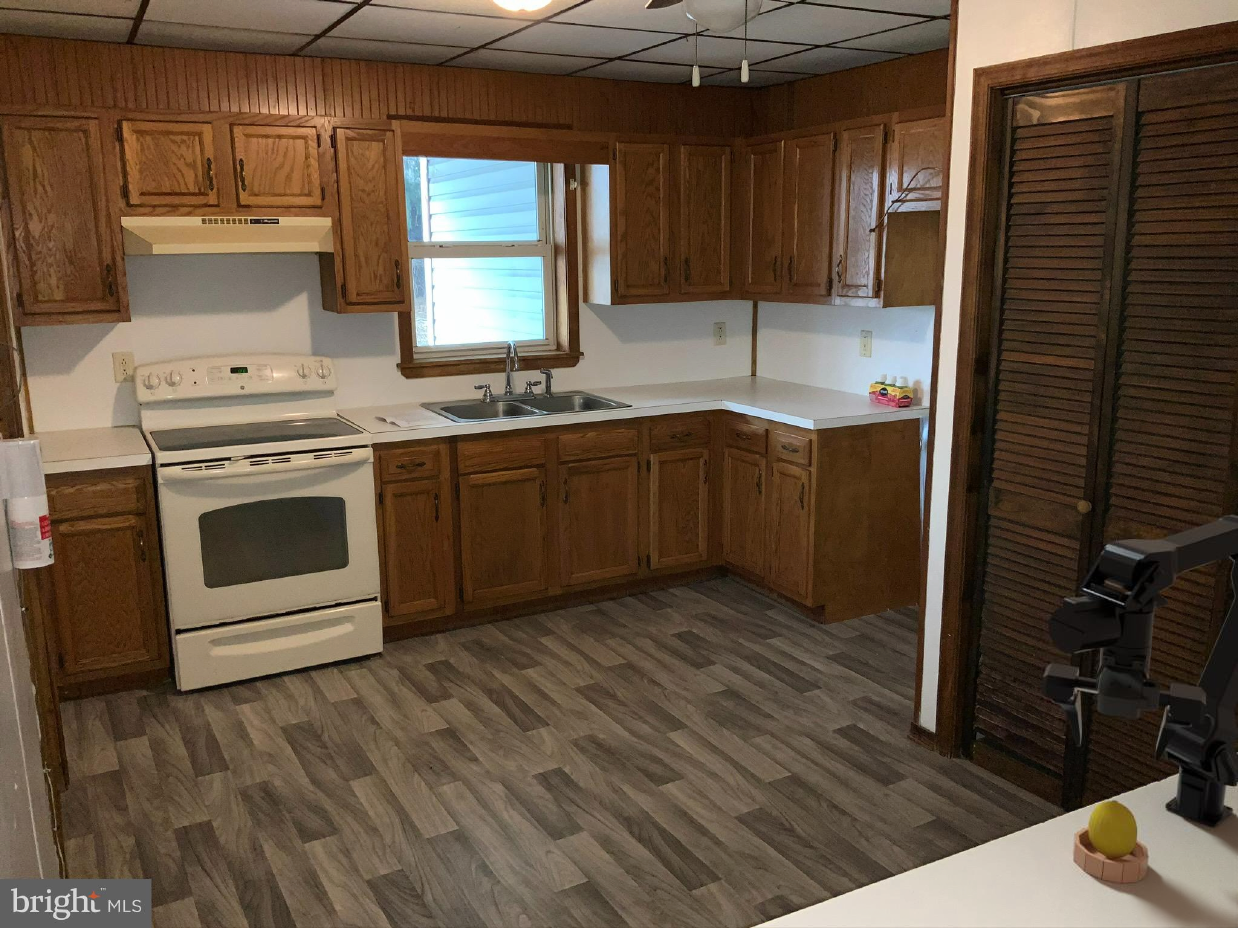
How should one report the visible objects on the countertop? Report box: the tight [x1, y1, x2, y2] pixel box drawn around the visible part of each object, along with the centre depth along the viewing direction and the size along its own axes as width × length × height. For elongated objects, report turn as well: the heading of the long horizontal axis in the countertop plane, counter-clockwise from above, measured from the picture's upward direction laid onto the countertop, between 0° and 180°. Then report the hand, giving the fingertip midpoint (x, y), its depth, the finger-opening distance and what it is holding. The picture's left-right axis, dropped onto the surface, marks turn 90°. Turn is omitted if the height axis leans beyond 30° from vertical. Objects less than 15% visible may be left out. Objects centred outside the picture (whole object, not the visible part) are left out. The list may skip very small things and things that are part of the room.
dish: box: [1072, 827, 1149, 884], centre depth 127 cm, size 8×8×2 cm
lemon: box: [1087, 799, 1138, 860], centre depth 126 cm, size 6×6×8 cm
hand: (1116, 752), depth 132 cm, fingers open, 9 cm apart
